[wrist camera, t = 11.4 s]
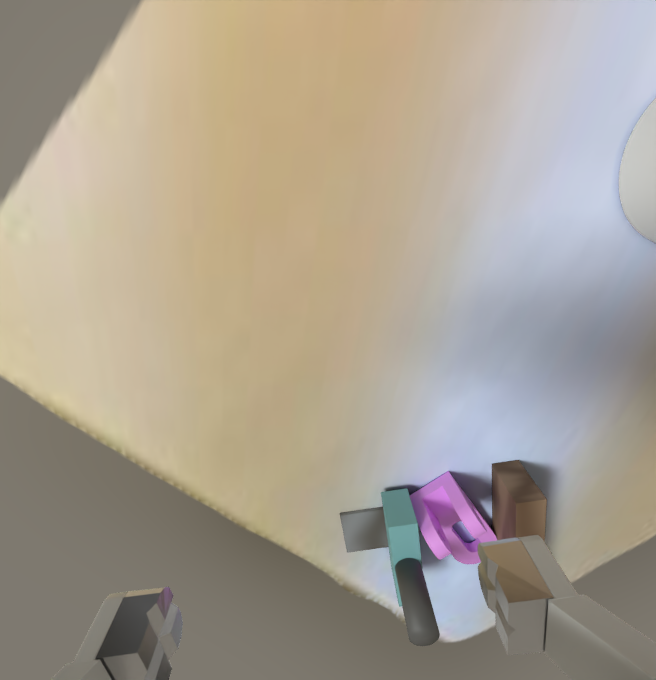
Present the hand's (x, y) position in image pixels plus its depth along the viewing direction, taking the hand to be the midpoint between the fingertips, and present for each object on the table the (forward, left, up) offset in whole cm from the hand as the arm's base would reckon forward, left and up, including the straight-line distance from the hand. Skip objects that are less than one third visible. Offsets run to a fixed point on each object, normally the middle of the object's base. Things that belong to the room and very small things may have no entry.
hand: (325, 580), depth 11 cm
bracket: (-12, +30, -29) cm, 43 cm away
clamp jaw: (-5, +30, -29) cm, 42 cm away
